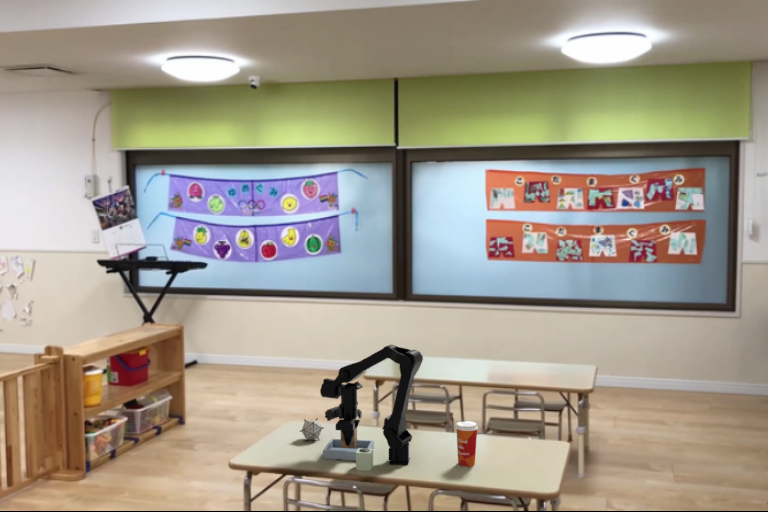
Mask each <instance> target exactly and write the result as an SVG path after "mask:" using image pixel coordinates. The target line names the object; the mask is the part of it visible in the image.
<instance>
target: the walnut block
mask: <svg viewBox="0 0 768 512" xmlns="http://www.w3.org/2000/svg"><path fill="white" fill-rule="evenodd" d="M340 439H341V448H352V449H355V447H356V445H357V440H358V427H357V428H355V431H354V434H353V437H352V439H351V442H350V445H349V446H346V443H345V439H344V435H343V432H342V431H340Z"/></svg>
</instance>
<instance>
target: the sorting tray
mask: <svg viewBox="0 0 768 512" xmlns="http://www.w3.org/2000/svg"><path fill="white" fill-rule="evenodd" d="M358 448H368V449H374V450H375V440H373V439H372V440H370V439H357V445H356V447H355V449H352V448H341V438H331V439H329V441H328V443H327V444H326V445H325V447H324V448H323V449H322V460H335V459H341V461H343V460H344V461H355V462H356V452H357V450H358Z"/></svg>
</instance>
